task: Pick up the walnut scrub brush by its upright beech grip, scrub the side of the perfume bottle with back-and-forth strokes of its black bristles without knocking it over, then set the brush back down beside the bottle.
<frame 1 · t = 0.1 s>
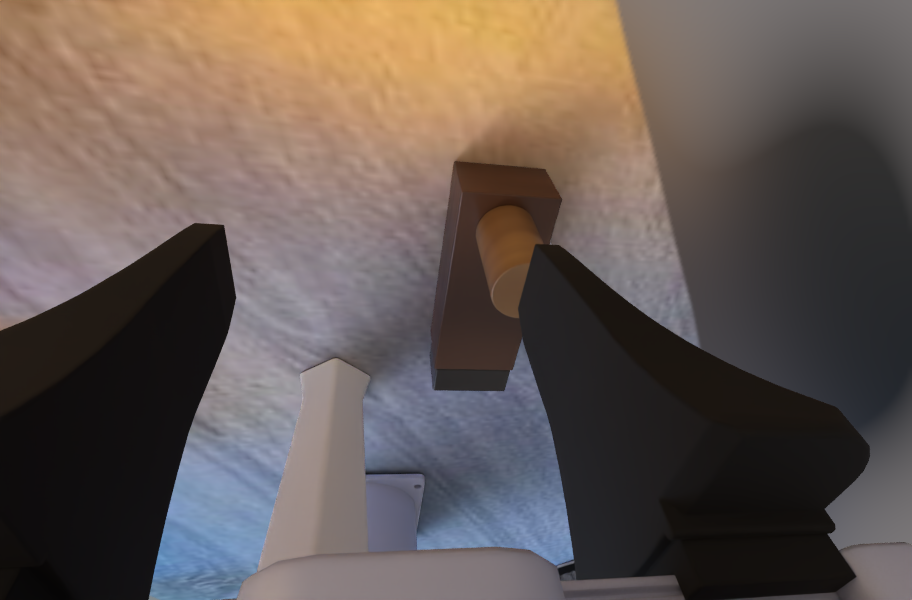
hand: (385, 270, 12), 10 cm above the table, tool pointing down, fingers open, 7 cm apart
electric trimmer: (591, 585, 51), on the table
perfume bottle: (335, 378, 29), on the table
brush: (493, 198, 23), on the table
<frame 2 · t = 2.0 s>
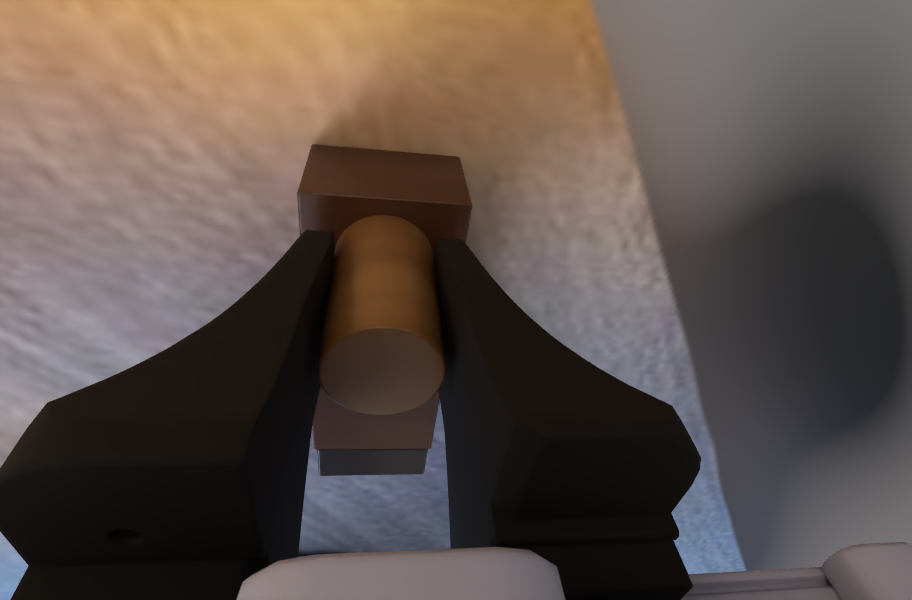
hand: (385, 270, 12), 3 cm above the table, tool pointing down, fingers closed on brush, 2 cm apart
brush: (384, 202, 15), on the table, touching gripper
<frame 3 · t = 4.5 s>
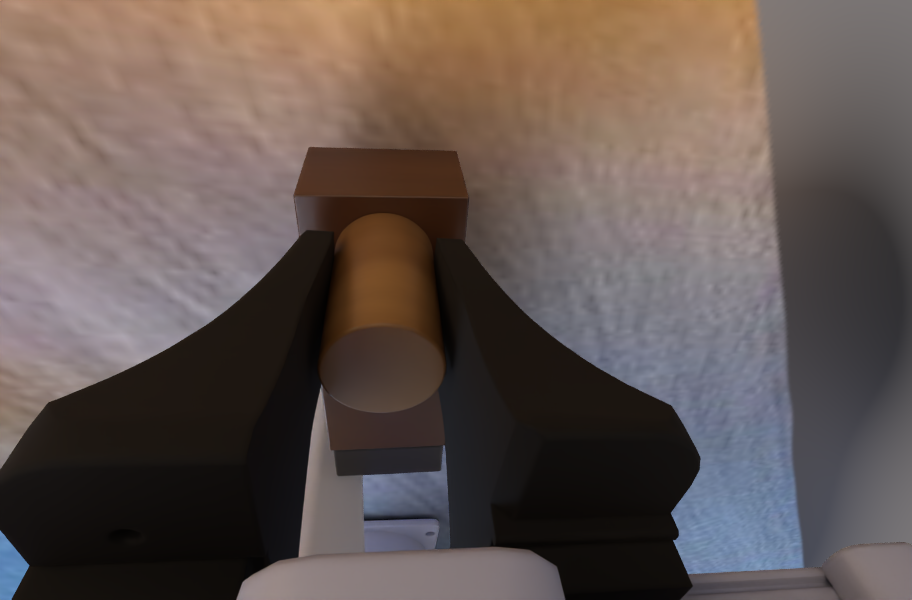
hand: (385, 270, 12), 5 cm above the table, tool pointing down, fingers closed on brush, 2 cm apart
perfume bottle: (327, 410, 23), on the table, touching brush
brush: (385, 201, 15), point 2 cm above the table, touching gripper, perfume bottle
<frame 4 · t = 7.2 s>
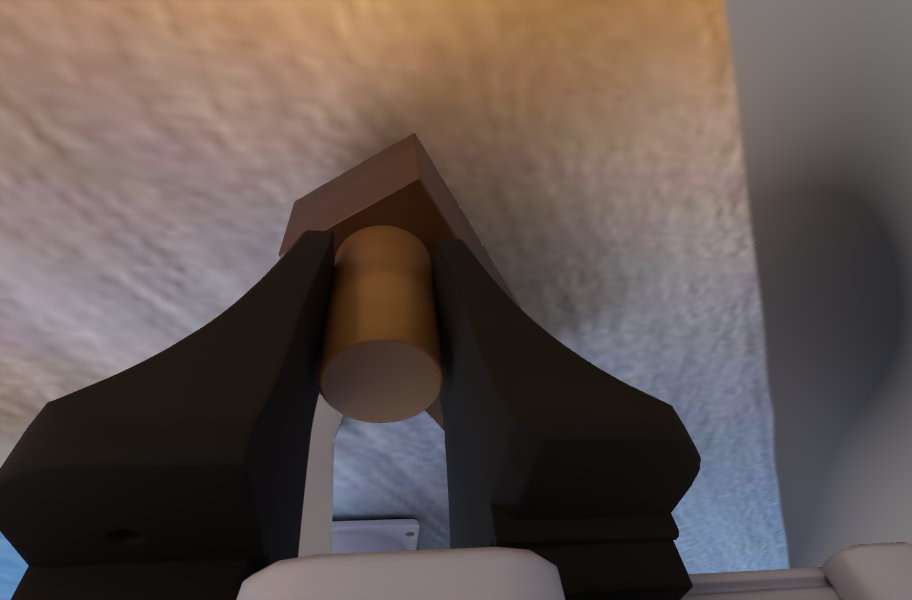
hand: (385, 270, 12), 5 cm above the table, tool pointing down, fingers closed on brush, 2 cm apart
perfume bottle: (301, 409, 22), on the table
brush: (384, 211, 15), point 1 cm above the table, touching gripper
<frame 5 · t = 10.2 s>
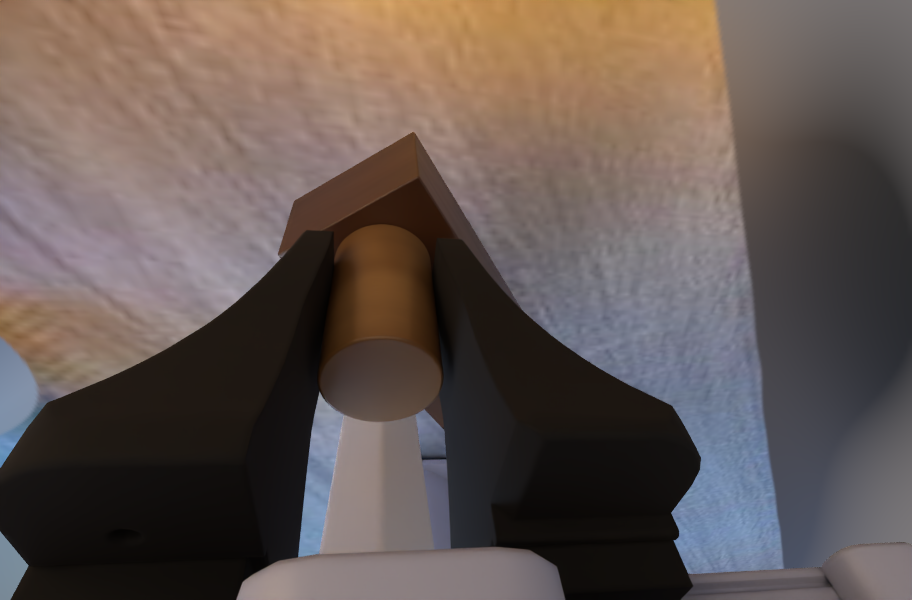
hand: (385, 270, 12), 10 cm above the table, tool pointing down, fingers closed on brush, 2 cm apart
perfume bottle: (380, 358, 28), on the table
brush: (383, 210, 15), point 6 cm above the table, touching gripper
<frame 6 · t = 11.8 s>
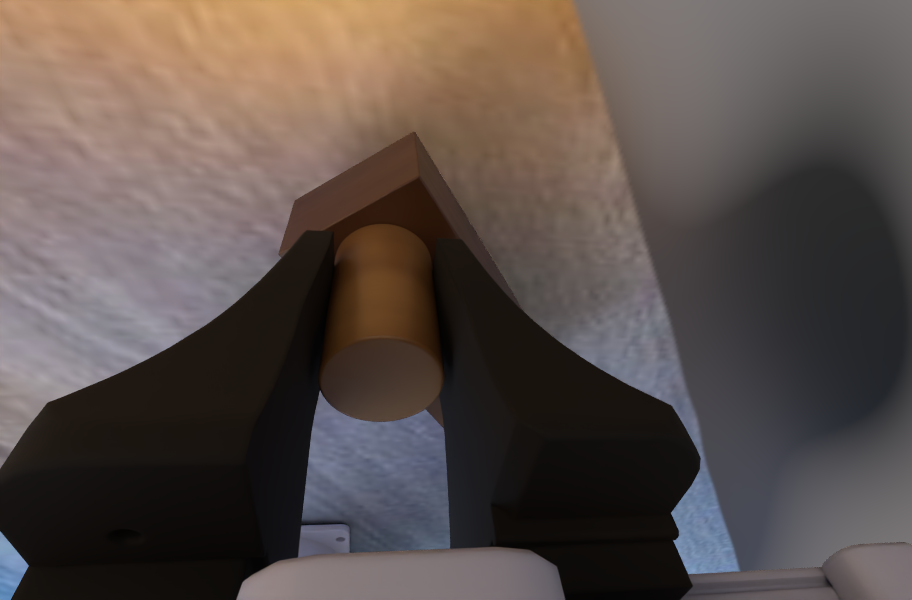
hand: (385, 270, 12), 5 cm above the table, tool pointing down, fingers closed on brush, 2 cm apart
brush: (384, 210, 15), point 2 cm above the table, touching gripper
when the fingers open (3 cm above the table, at t = 12.6 s): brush stays where it is, on the table.
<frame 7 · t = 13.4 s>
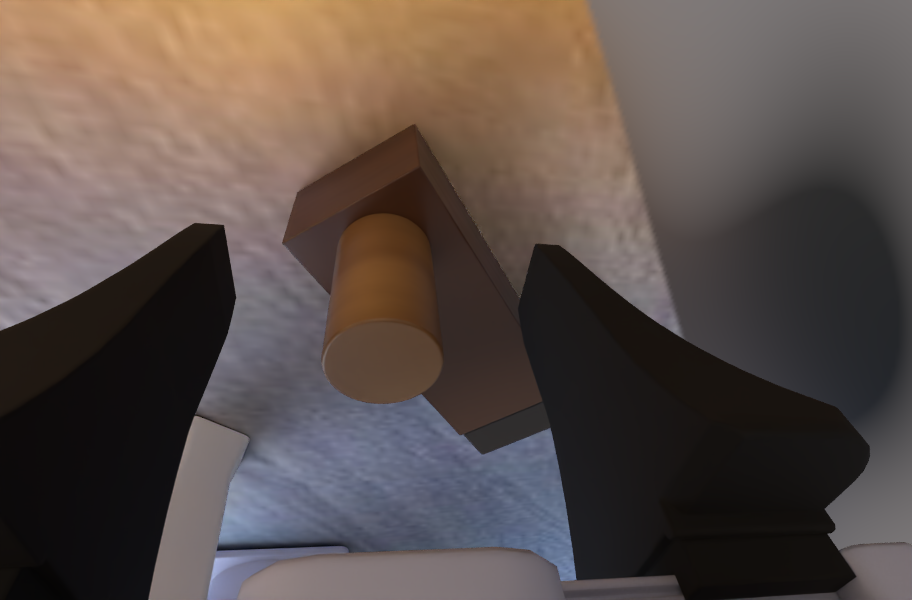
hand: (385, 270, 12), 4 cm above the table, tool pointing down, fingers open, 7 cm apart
perfume bottle: (203, 439, 21), on the table
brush: (385, 202, 15), on the table
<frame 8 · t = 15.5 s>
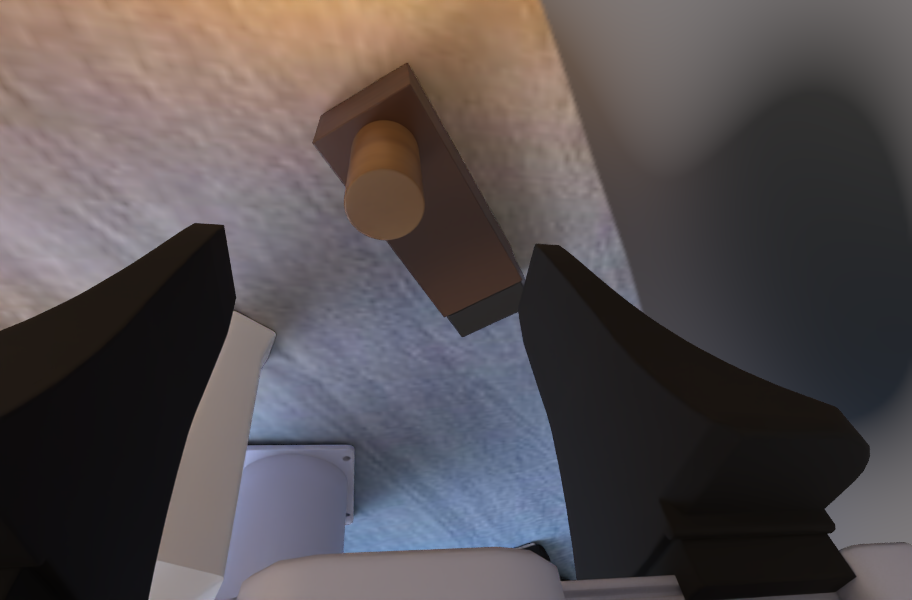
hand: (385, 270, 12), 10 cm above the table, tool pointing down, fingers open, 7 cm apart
electric trimmer: (550, 572, 49), on the table
perfume bottle: (238, 335, 27), on the table
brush: (385, 125, 20), on the table
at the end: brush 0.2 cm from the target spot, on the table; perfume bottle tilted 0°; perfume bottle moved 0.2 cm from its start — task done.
